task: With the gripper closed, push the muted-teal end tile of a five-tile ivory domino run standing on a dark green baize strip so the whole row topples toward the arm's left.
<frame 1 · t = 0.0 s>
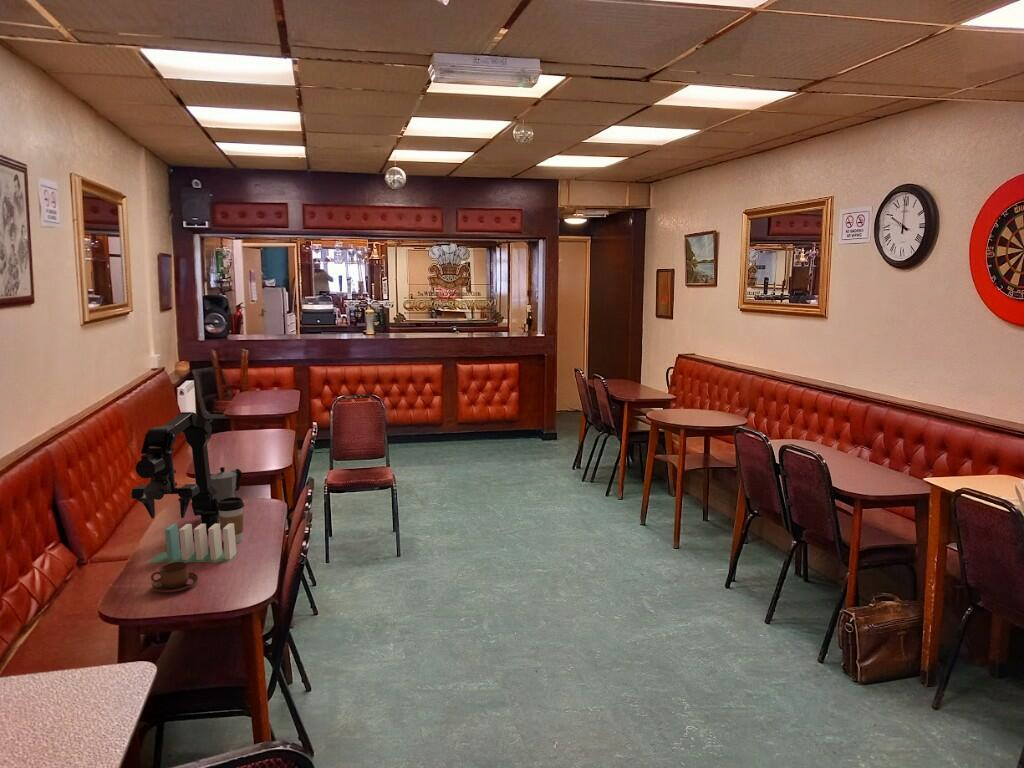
hand: (167, 518, 225), 15 cm above the table, fingers open, 9 cm apart
baize strip: (194, 558, 231), on the table
coffeepot: (228, 513, 273), on the table
domino 1: (174, 557, 231), point 1 cm above the table, touching baize strip
domino 5: (230, 556, 230), point 1 cm above the table, touching baize strip
coffee cup: (233, 543, 244), on the table
domino 4: (216, 556, 230), point 1 cm above the table, touching baize strip
domino 3: (202, 556, 230), point 1 cm above the table, touching baize strip
domino 2: (188, 556, 231), point 1 cm above the table, touching baize strip
cup and saucer: (175, 587, 211), on the table
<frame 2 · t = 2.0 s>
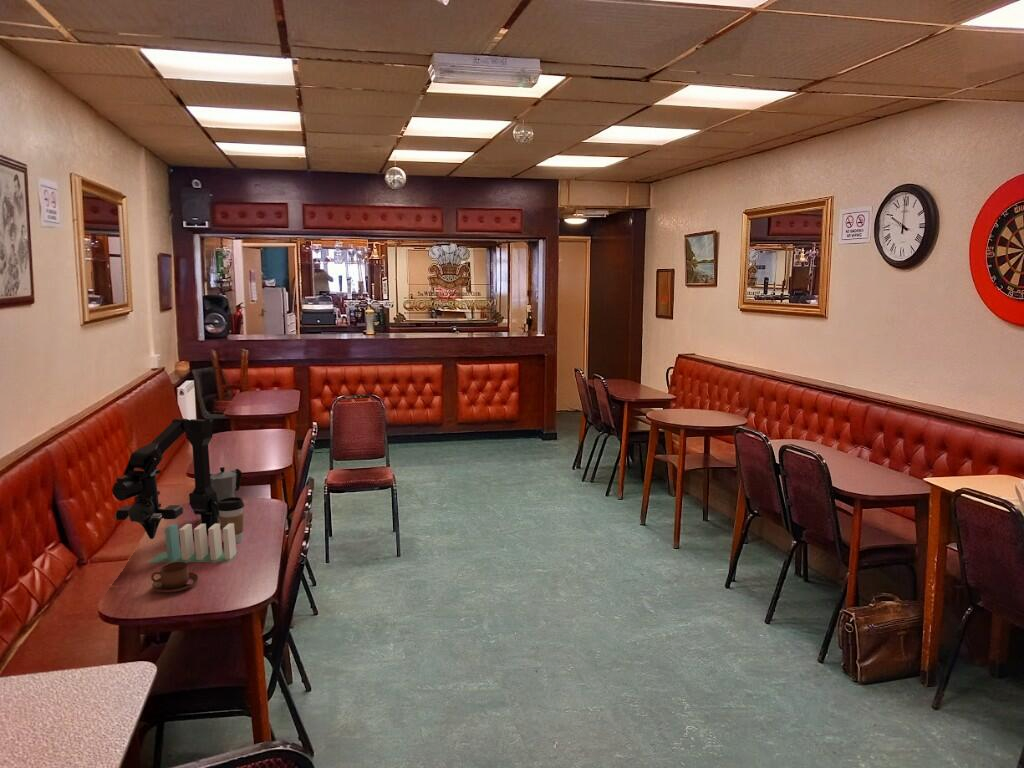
hand: (152, 538, 230), 7 cm above the table, fingers closed
nothing on the table moved.
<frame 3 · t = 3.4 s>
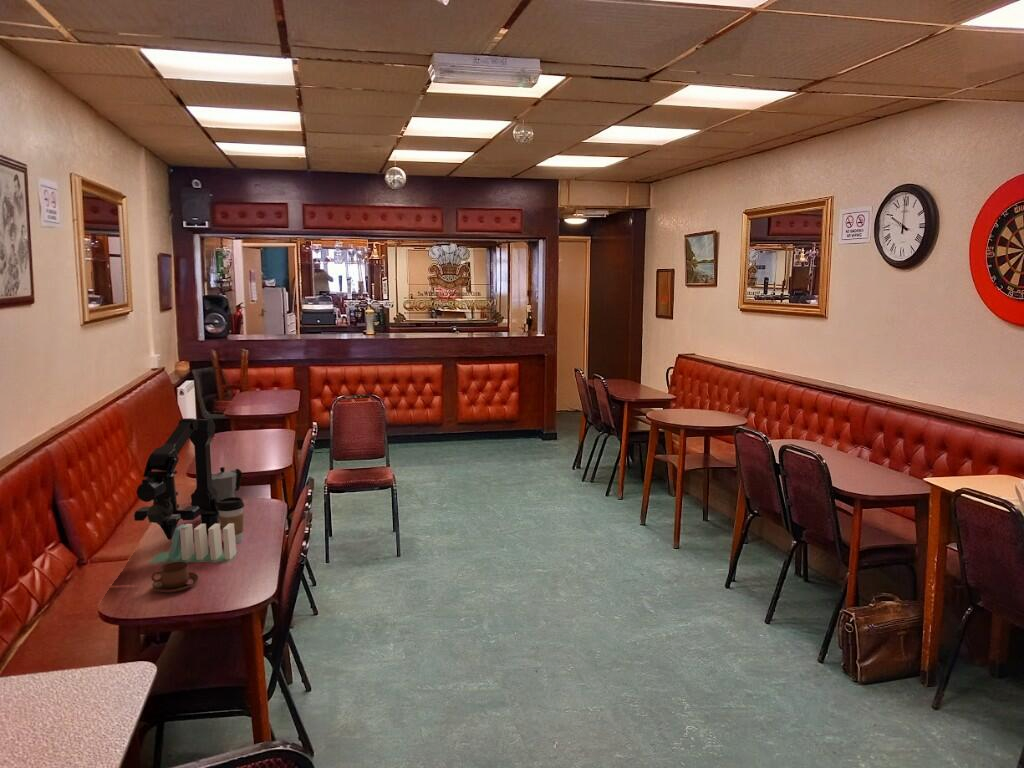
hand: (170, 539, 230), 6 cm above the table, fingers closed
domino 1: (174, 556, 231), point 1 cm above the table, tilted 18°, touching baize strip
everything else where it was.
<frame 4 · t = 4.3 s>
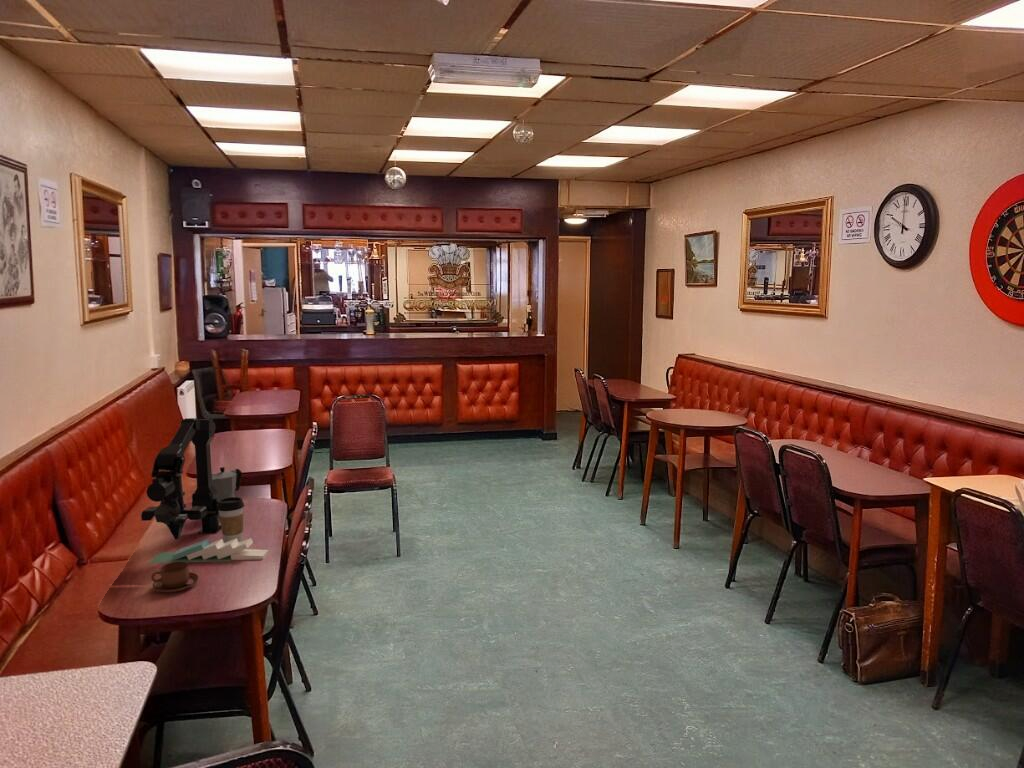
hand: (177, 539, 230), 6 cm above the table, fingers closed
domino 1: (177, 554, 230), point 1 cm above the table, tilted 70°, touching domino 2
domino 5: (234, 554, 230), point 1 cm above the table, tilted 94°, touching baize strip, domino 4
domino 4: (220, 554, 230), point 1 cm above the table, tilted 69°, touching domino 3, domino 5
domino 3: (206, 554, 230), point 1 cm above the table, tilted 69°, touching baize strip, domino 2, domino 4
domino 2: (191, 554, 230), point 1 cm above the table, tilted 70°, touching baize strip, domino 1, domino 3
everything else where it was.
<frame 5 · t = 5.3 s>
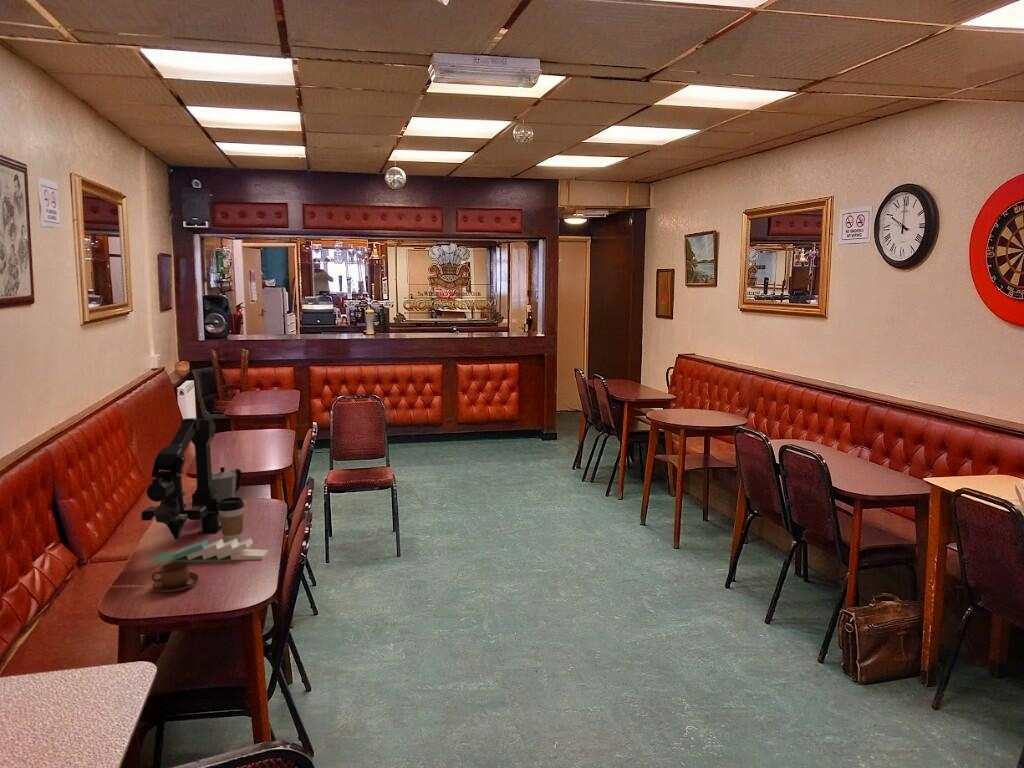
hand: (177, 539, 230), 6 cm above the table, fingers closed
nothing on the table moved.
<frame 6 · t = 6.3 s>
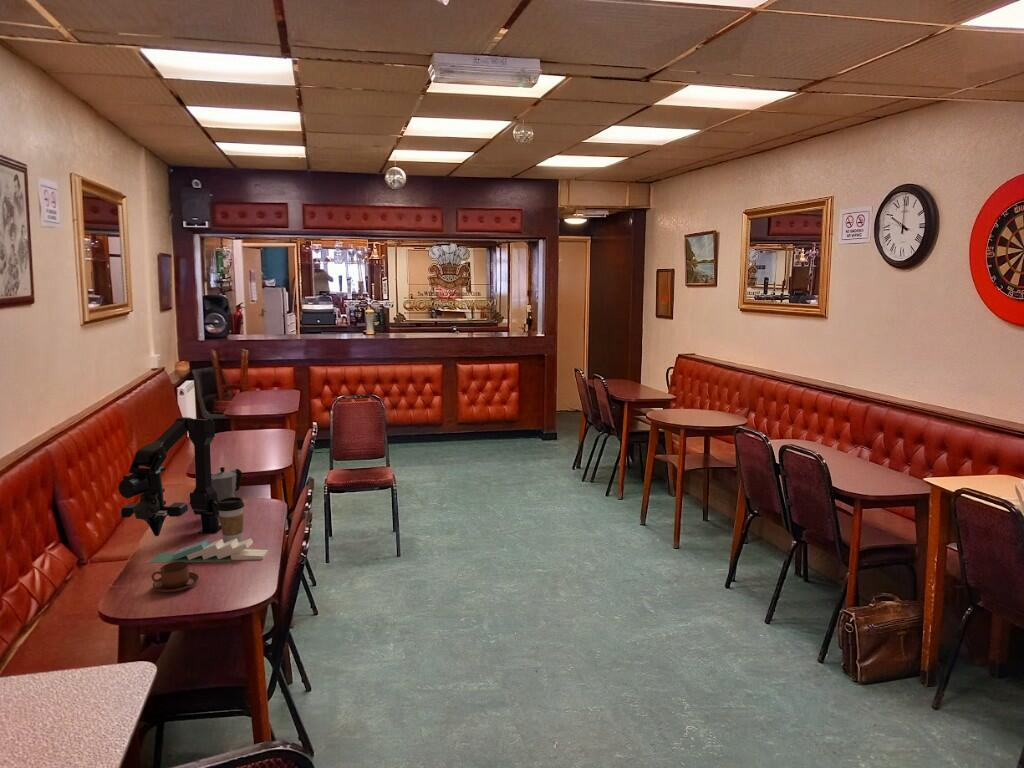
hand: (157, 535, 230), 7 cm above the table, fingers closed
nothing on the table moved.
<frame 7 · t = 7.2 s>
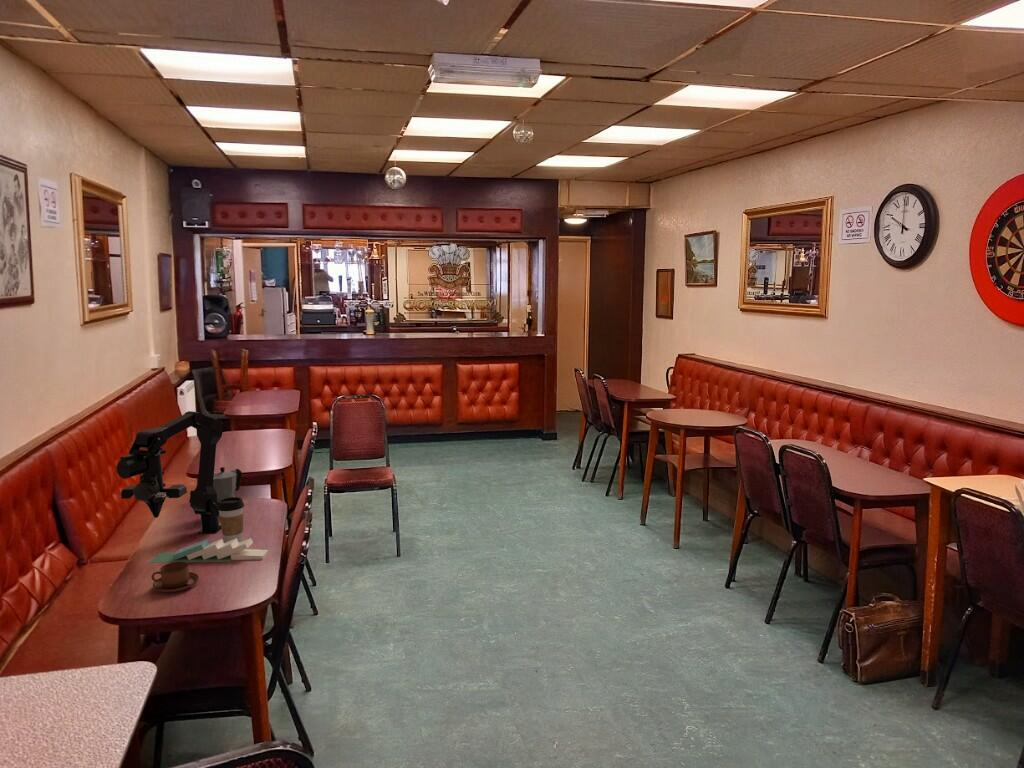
hand: (156, 517, 234), 12 cm above the table, fingers closed
nothing on the table moved.
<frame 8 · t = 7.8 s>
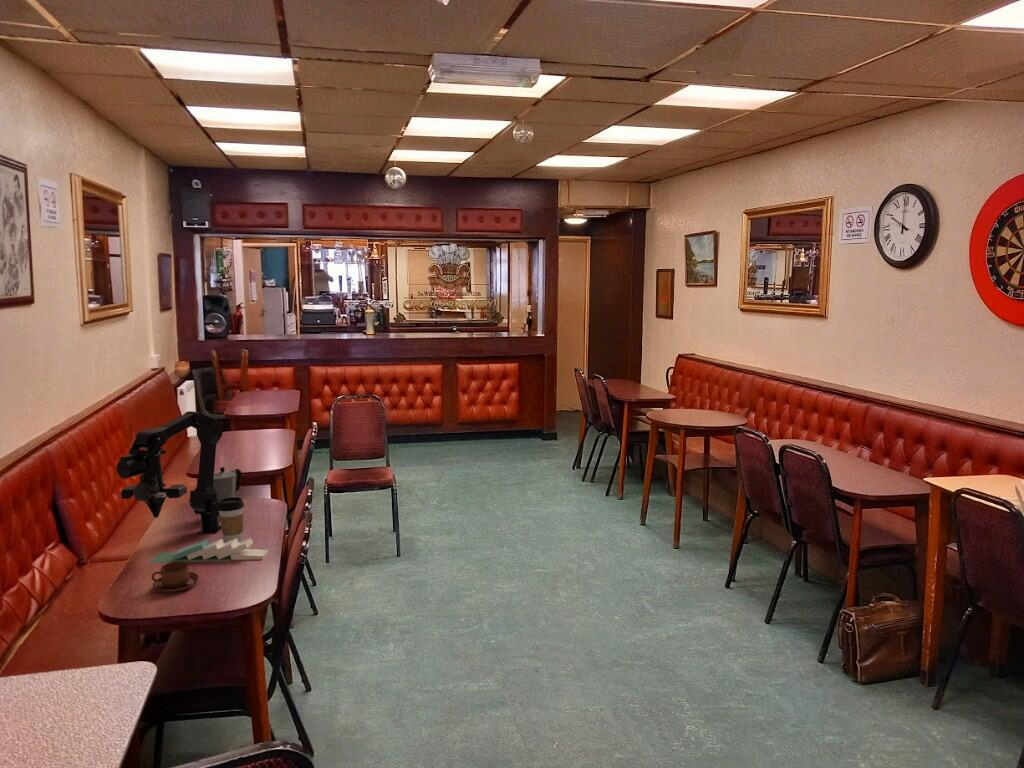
hand: (156, 517, 234), 12 cm above the table, fingers closed
nothing on the table moved.
at the end: domino 5 tilted 94°; domino 1 tilted 70° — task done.
